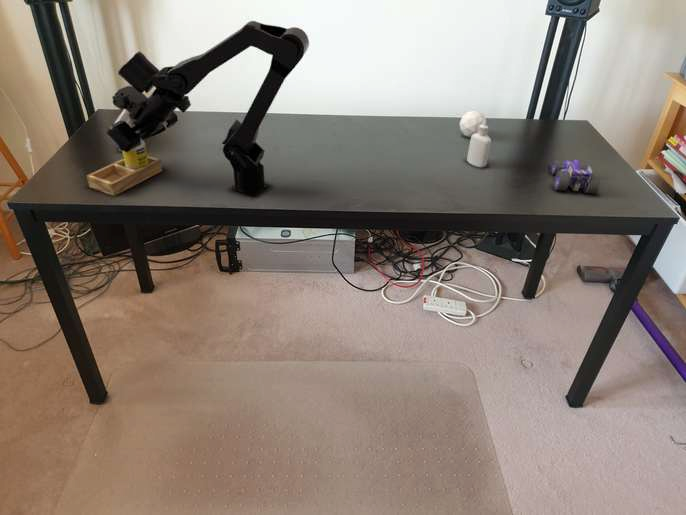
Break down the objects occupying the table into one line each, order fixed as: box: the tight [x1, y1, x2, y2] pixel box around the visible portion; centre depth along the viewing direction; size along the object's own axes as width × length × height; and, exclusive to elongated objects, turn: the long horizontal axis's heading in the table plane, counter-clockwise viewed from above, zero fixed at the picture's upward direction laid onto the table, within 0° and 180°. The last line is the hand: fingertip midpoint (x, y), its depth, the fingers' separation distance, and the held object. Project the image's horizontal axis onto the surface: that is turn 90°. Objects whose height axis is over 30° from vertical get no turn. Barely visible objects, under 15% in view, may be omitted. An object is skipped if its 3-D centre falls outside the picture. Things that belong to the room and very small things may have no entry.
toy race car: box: [550, 159, 601, 195], centre depth 135 cm, size 10×15×6 cm, turn 172°
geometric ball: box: [459, 110, 487, 139], centre depth 157 cm, size 8×8×8 cm
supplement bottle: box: [121, 131, 149, 170], centre depth 127 cm, size 5×5×10 cm
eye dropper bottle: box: [466, 120, 492, 168], centre depth 140 cm, size 4×6×12 cm
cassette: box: [114, 109, 133, 153], centre depth 143 cm, size 12×2×8 cm, turn 5°
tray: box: [86, 155, 163, 197], centre depth 127 cm, size 8×15×3 cm, turn 152°
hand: (128, 144), depth 127 cm, fingers closed on supplement bottle, 5 cm apart
